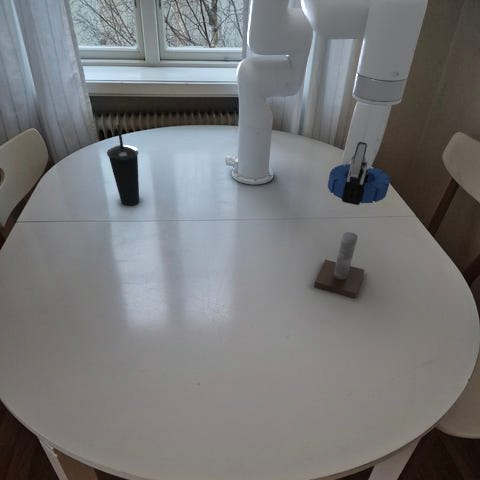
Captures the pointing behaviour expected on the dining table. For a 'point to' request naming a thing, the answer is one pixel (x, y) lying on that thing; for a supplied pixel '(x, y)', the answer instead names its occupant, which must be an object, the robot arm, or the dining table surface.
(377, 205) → the dining table surface
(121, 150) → the drinking cup
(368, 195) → the ring
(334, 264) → the peg on square base
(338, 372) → the dining table surface
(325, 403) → the dining table surface
